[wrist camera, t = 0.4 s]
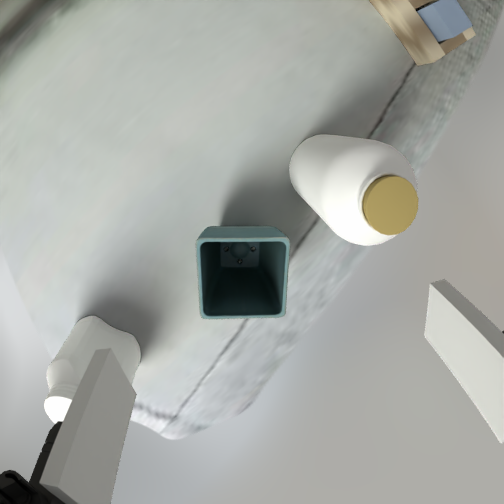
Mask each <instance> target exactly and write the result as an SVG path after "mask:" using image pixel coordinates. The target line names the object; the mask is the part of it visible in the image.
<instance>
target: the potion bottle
mask: <svg viewBox="0 0 504 504" xmlns="http://www.w3.org/2000/svg"><path fill="white" fill-rule="evenodd" d="M289 173H290V180H291V182H292V185H293V187H294V189H295V190H296V192H297V193H298V194H299V195H300V196H301V197H302V198H303V199H304V200H305V201H306V202H307V204H308V205H309V206H310V207H311V208H312V209H313V210H314V211H315V212H316V213H317V214H318V215H319V216H320V217H321V218H322V219H323V220H324V221H325V223H326V224H327V225H328V226H329V227H330V228H331V229H332V230H333V231H334V232H335V233H336V234H337V235H338V236H340V237H342V238H343V239H345V240H347V241H348V242H351V243H354V244H359V245H364V246H368V245H376V244H381V243H383V242H385V241H387V240H389V239H392V238H393V237H395V236H396V235H397V234H399V233H400V232H403V231H404V230H406V229H407V228H408V227H409V226H410V225H411V223H412V222H413V220H414V219H415V216H416V213H417V210H418V197H417V181H416V177H415V174H414V170H413V168H412V166H411V165H410V163H409V162H408V160H407V159H406V157H405V156H404V155H403V154H401V153H400V152H399V151H398V150H396V149H395V148H394V147H393V146H391V145H389V144H386V143H383V142H380V141H377V140H370V139H363V138H355V137H347V136H339V135H329V134H324V135H315V136H313V137H310V138H308V139H306V140H304V141H303V142H302V143H301V144H300V145H299V146H298V147H297V148H296V150H295V151H294V153H293V155H292V157H291V161H290V165H289Z"/></svg>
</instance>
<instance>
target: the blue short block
mask: <svg viewBox="0 0 504 504" xmlns="http://www.w3.org/2000/svg"><path fill="white" fill-rule="evenodd" d="M416 12H417V13H418V14H419V16H420V17H421V18H422V20H423V21H424V23H425V24H426V25H427V27H428V28H429V30H430V31H431V33H432V34H433V36H434V37H435V39H436V40H437V42H439V41H443V40H446V39H450V38H454V37H455V36H457V35H459V34H460V33H462V32H463V31H465V30H467V29H468V28H470V27H472V26H473V25H472V23H471V22H470V20H469V19H468V17H467V15H466V14H465V12H464V11H463V9H462V8H461V6H460V5H459V3H458V2H457V1H456V0H438V1H436V2H434V3H432V4H430V5H428V6H426V7H424V8H422V9H420V10H418V11H416Z"/></svg>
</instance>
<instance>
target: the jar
mask: <svg viewBox="0 0 504 504" xmlns="http://www.w3.org/2000/svg"><path fill="white" fill-rule="evenodd" d="M107 348H111V349H112V351H113V353H114V355H115V357H116V358H117V360H118V362H119V364H120V366H121V368H122V370H123V371H124V373H125V375H126V377H127V378H128V380H129V382H130V384H131V385H132V383H133V379H134V376H135V373H136V370H137V368H138V366H139V363H140V359H141V351H140V347H139V344H138V342H137V340H136V339H135V337H134V336H133V335H132V334H129V333H127V332H123V331H120V330H118V329H115V328H113V327H111V326H110V325H108V324H107V323H105V322H104V321H103V320H101V319H100V318H98V317H96V316H88V317H85V318H82V319H81V320H79V321H78V322H77V323H76V324H75V326H74V327H73V329H72V330H71V333H70V335H69V336H68V338H67V339H66V341H65V342H64V344H63V346H62V347H61V349H60V350H59V352H58V354H57V355H56V357H55V359H54V360H53V361H52V362H51V364H50V365H49V367H48V370H47V381H48V386H49V390H50V392H49V394H48V395H47V398H46V400H45V402H44V408H45V411H46V413H47V414H48V416H49V417H50V419H51V420H52V421H53V422H54V423H55V424H56V423H57V422H58V421H63V420H64V418H65V415H66V413H67V411H68V409H69V406H70V404H71V402H72V399H73V397H74V395H75V393H76V391H77V388H78V386H79V384H80V382H81V380H82V377H83V375H84V373H85V371H86V369H87V367H88V365H89V363H90V361H91V359H92V357H93V355H94V352H95V350H98V349H107Z"/></svg>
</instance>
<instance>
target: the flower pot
mask: <svg viewBox="0 0 504 504" xmlns="http://www.w3.org/2000/svg"><path fill="white" fill-rule="evenodd" d="M225 247H228V249H229V250H228V251H225V250H224V248H225ZM252 247H255V250H254V251H252V250H251V248H252ZM289 256H290V239H289V238H287V237H286V236H285V235H284V234H283V233H282V232H281V231H280V230H278V229H277V228H275V227H272V226H211V227H207V228H206V229H205V230H204V231H203V232H202V233H201V235H200V236H199V238H198V239H197V240H196V257H197V271H198V290H199V308H200V316H201V318H203V319H239V318H240V319H242V318H279V317H283V316H284V315H285V313H286V299H287V282H288V267H289ZM239 259H241V260H242V262H241V263H238V260H239Z"/></svg>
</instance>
